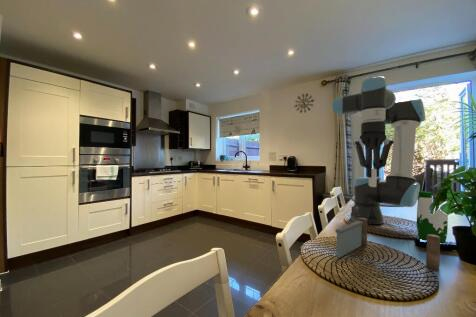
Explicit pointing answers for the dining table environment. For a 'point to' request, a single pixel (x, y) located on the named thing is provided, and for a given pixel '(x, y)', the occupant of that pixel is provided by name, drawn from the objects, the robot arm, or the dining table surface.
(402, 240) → the dining table surface
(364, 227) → the hinge post
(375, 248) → the dining table surface
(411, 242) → the dining table surface
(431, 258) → the post
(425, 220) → the milk carton
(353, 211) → the salt shaker
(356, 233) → the gate
